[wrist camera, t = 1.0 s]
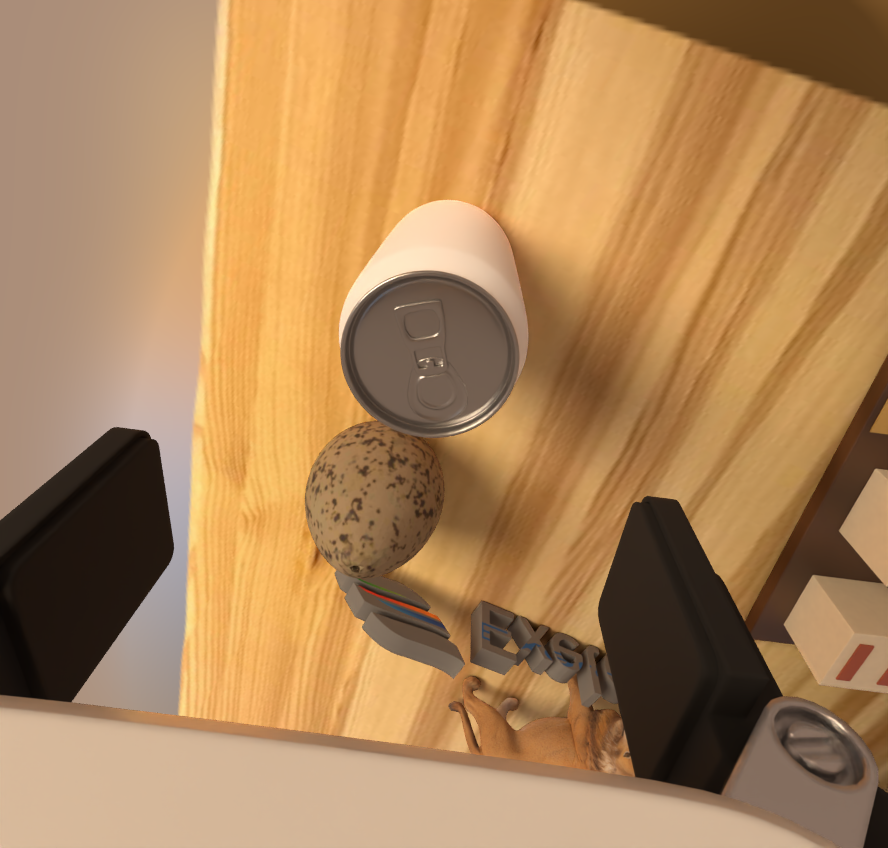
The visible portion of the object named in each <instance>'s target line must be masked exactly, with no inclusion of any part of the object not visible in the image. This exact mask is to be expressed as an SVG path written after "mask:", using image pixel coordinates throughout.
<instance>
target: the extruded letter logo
mask: <svg viewBox="0 0 888 848" xmlns="http://www.w3.org/2000/svg"><path fill="white" fill-rule="evenodd" d="M335 576H336V579H337V582H338V584H339V587H340V589H341V590H342V591H344V592H345V593H347V594H346V596H345V600H346V602H347V603H348V605H349V607H350V609H351V611H352V612H353V614H354V616H355V617H357V618H359V619H361V620H363V621H365V623H364V624H363V626H362V628H363V630H364V631H365V632H366V633H367V634H368V635H369V636H370V637H371V638H372V639H373V640H374V641H375V642H377V643H378V644H379V645H380V646H382V647H383V648H385V649H387V650H388V651H390V652H392V653H394V654H397V655H400V656H404V657H407V658H410V659H412V660H415V661H418V662H421V663H424V664H427V665H430V666H433V667H435V668H437V669H440V670H442V671H444V672H445V673H447V674H448V675H450V676H451V677H452V678H453V679H454V678H455V676H456V675H457V674H458V673H459V671H460V670H461V669H462V668H463V666H464V665H465V663H464V660H463V658H462V656H461V654H460V652H459V650H458V648H457V646H456V645H454V644H453V643H452V642H450V641H449V640H448V639H449V637H450V634H449V633H448V631H447V630H446V628H445V627H444V625H443V624H442V622H441V621H440V619H439V618H438V617H437V616H436V615H433V614H431V613H429V612H428V610H429V609H430V606H429V604H428V603H427V602H426V601H425V600H424V599H423V598H422V597H421V596H419V595H418V594H417V593H416V592H414V591H413V590H411V589H410V588H408V587H407V586H405V585H403V584H401V583H399V582H396V581H394V580H390V579H388V578H385V577H382V576H378V577H374V578H367V579H358V578H352V577H348V576H346V575H344V574H342V573H341V572H339V571H338V570H336V572H335ZM513 620H514V614H513V613H511V612H509V611H506V610H504V609H501V608H499V607H496V606H494V605H491V604H489V603H486V602H484V601H481V602H480V604H479V605H478V606H477V608H476V609H475V610H474V612H473V613H472V614H471V657H470V662H471V663H474V664H476V665H479V666H482V667H484V668H487V669H489V670H492V671H495V672H497V673H500V674H502V675H505V674H506V673H507V672H508V671H509V670H510V669H511V667H512V666H513V665H517V666H519V664H520V663H521V662H522V661H523V660H524V659H526V661H527V663H528V665H529V667H530V668H531V670H532V672H535V673H537V674H540V675H541V674H542V673H543V672H544V671H545V672H546V673H547V674H548V676H549V677H550V678H552V679H553V680H555V681H557V682H559V683H567V682H568V681H569V680H570V679H571V678H572V677H573V676H574V675H575V674H576V675H577V681H578V687H579V693H580V699H581V705H583V706H585V707H588V708H589V707H590V706H591V705H592V704H593V703H594V702H595V701H596V700H597V699H598V698H599V697H600V696H601V697H602V698H604V699H605V700H607V701H608V702H610V703H614V704H618V700H617V696H616V692H615V687H614V683H613V679H612V674H611V670H610V666H609V661H608V657H607V654H606V655H605V656H604V657H603V658H602V659H601V660H600V661H599V662H598V663H597V664H595V658H596V657H597V656H598V655H599V649H598V648H597V647H594V646H588V647H587V648H586V649H585V650H584V651H583V652H582V653H581V654H578V653H576V652H573V651H574V650H575V649H576V648H577V646H578V645H579V644H578V643H577V642H576V641H575V640H574V639H573V638H572V637H570V636H568V635H566V634H563V633H556V634H555V635H554V636H553V637H552V638H551V639H550V640H549V641H548V642H547V644H546V645H545V646H543V645H542V643H541V642H540V639H541V638H542V636H543V635H544V634H545V633H546V631H547V630H548V629H549V628H548V627H546V626H543V625H540V626H539V628H538V629H537V630H536V631H535V632H534V630H533V629H532V627H531V625H530V624H529V622H528V620H527V619H526V618H523V617H521V616H517V618H516V619H515V620H514V621H513ZM512 621H513V622H512ZM511 622H512V624H511ZM510 624H511V625H510ZM509 625H510V626H509ZM508 626H509V627H508ZM507 627H508V628H507ZM506 629H507V630H508V631H507V630H506ZM511 636H512V638H513V639H514V641H515V643H516V644H517V646H518V648H519V649H520V650H519V652H518V653H517V654H513V653H511V652H508V651H506V650H503V648H504V647H505V646H506V644H507V643H508V642H509V641H510V640H511Z"/></svg>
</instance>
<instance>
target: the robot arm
mask: <svg viewBox="0 0 888 848" xmlns="http://www.w3.org/2000/svg"><path fill="white" fill-rule="evenodd" d="M173 551H174V543H173V536H172V529H171V523H170V516H169V510H168V503H167V496H166V491H165V483H164V477H163V470H162V463H161V457H160V450H159V445H158V443H157V441H156V440H154V439H151V437H150V435H149V433H147V432H146V431H143V430H135V429H127V428H119V427H116V428H115V427H114V428H112V429H110V430H109V431H107V432H106V433H105V434H104V435H103V436H101V437H100V438H99V439H98V440H97V441H95V442H94V443H93V444H92V445H91V446H89V447H88V448H87V449H86V450H85V451H83V452H82V453H81V454H80V455H79V456H77V457H76V458H75V459H74V460H73V461H71V462H70V463H69V464H68V465H67V466H65V467H64V468H63V469H62V470H60V471H59V472H58V473H57V474H56V475H54V476H53V477H52V478H51V479H50V480H48V481H47V482H46V483H45V484H44V485H42V486H41V487H40V488H39V489H38V490H36V491H35V492H34V493H33V494H32V495H30V496H29V497H28V498H27V499H26V500H25V501H23V502H22V503H21V504H20V505H18V506H17V507H16V508H15V509H13V510H12V511H11V512H10V513H9V514H7V515H6V516H5V517H4V518H3V519H1V520H0V848H888V793H886V792H885V791H884V790H882V789H881V788H880V787H878V767H877V765H876V762H875V760H874V757H873V755H872V753H871V751H870V750H869V748H868V747H867V745H866V744H865V743H864V741H863V740H862V738H861V737H860V736H859V735H858V734H857V733H856V732H855V731H854V730H853V729H852V728H851V727H850V726H849V725H848V724H847V723H846V722H845V721H843V720H842V719H841V718H839V717H838V716H836V715H835V714H834V713H832V712H831V711H829V710H828V709H826V708H824V707H822V706H820V705H818V704H816V703H814V702H811V701H808V700H805V699H802V698H798V697H787V696H783V695H782V693H781V691H780V689H779V687H778V685H777V683H776V682H775V680H774V678H773V676H772V674H771V672H770V670H769V668H768V666H767V664H766V662H765V660H764V659H763V657H762V655H761V653H760V651H759V649H758V647H757V645H756V643H755V641H754V639H753V637H752V635H751V634H750V632H749V630H748V628H747V626H746V624H745V622H744V620H743V618H742V616H741V614H740V612H739V610H738V609H737V607H736V605H735V603H734V601H733V599H732V597H731V595H730V593H729V591H728V589H727V587H726V585H725V584H724V582H723V580H722V579H721V578H720V576H719V575H717V574H716V573H715V572H714V570H713V568H712V566H711V564H710V562H709V560H708V558H707V556H706V554H705V552H704V550H703V548H702V546H701V545H700V543H699V541H698V539H697V537H696V535H695V533H694V531H693V529H692V527H691V525H690V523H689V521H688V519H687V517H686V515H685V513H684V511H683V509H682V507H681V505H680V504H679V502H678V501H677V500H674V499H667V498H659V497H651V496H646V497H644V499H643V500H642V502H641V503H640V502H635V503H634V504H633V505H632V507H631V510H630V513H629V516H628V519H627V522H626V524H625V527H624V530H623V533H622V536H621V539H620V542H619V545H618V548H617V551H616V554H615V557H614V560H613V563H612V566H611V568H610V571H609V574H608V577H607V580H606V583H605V586H604V589H603V592H602V595H601V598H600V601H599V607H598V617H599V623H600V627H601V631H602V636H603V640H604V644H605V648H606V653H607V657H608V661H609V666H610V670H611V674H612V679H613V683H614V687H615V692H616V696H617V700H618V705H619V709H620V713H621V718H622V722H623V726H624V731H625V735H626V739H627V744H628V748H629V752H630V756H631V761H632V765H633V769H634V774H635V777H630V776H623V775H617V774H610V773H604V772H597V771H591V770H584V769H578V768H571V767H564V766H558V765H551V764H543V763H536V762H529V761H521V760H514V759H506V758H499V757H492V756H484V755H477V754H469V753H462V752H455V751H447V750H440V749H432V748H425V747H418V746H410V745H403V744H395V743H387V742H380V741H372V740H364V739H357V738H349V737H341V736H334V735H326V734H318V733H311V732H303V731H295V730H287V729H280V728H272V727H264V726H256V725H249V724H241V723H233V722H225V721H217V720H209V719H201V718H193V717H185V716H177V715H168V714H161V713H152V712H144V711H136V710H128V709H120V708H112V707H104V706H96V705H88V704H80V703H72V700H73V699H74V697H75V696H76V695H77V693H78V692H79V691H80V689H81V688H82V686H83V685H84V683H85V682H86V681H87V679H88V678H89V676H90V675H91V674H92V672H93V671H94V669H95V668H96V666H97V665H98V664H99V662H100V661H101V659H102V658H103V657H104V655H105V654H106V652H107V651H108V650H109V648H110V647H111V645H112V644H113V642H114V641H115V640H116V638H117V637H118V635H119V634H120V633H121V631H122V630H123V628H124V627H125V626H126V624H127V623H128V621H129V620H130V618H131V617H132V616H133V614H134V613H135V611H136V610H137V609H138V607H139V606H140V604H141V603H142V601H143V600H144V599H145V597H146V596H147V594H148V592H150V590H151V589H152V587H153V586H154V584H155V583H156V582H157V580H158V579H159V577H160V576H161V575H162V573H163V572H164V570H165V569H166V568H167V566H168V565H169V563H170V561H171V558H172V555H173Z"/></svg>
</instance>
